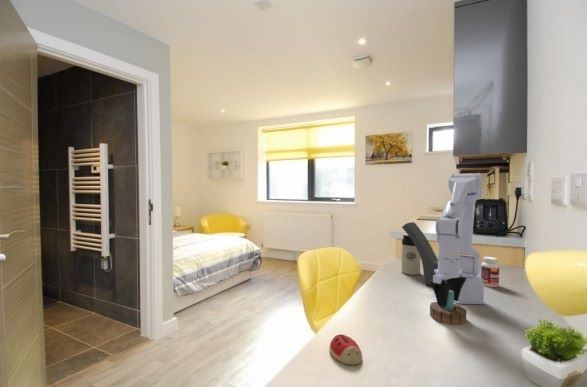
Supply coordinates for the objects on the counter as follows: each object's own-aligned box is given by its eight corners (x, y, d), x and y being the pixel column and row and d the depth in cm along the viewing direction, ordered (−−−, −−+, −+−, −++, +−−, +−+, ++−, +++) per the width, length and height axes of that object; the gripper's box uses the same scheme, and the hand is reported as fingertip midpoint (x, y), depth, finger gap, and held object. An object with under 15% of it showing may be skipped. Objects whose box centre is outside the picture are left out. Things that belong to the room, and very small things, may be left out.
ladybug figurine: (342, 370, 65) (342, 353, 65) (322, 347, 74) (322, 332, 74) (369, 364, 67) (369, 348, 67) (347, 342, 76) (347, 328, 76)
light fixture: (410, 275, 136) (410, 221, 135) (451, 284, 124) (452, 224, 123) (399, 280, 128) (399, 223, 128) (442, 290, 116) (443, 226, 116)
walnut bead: (456, 311, 96) (456, 302, 96) (473, 325, 86) (473, 314, 86) (425, 310, 96) (425, 301, 96) (438, 324, 86) (438, 313, 86)
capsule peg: (450, 315, 93) (450, 289, 92) (455, 319, 90) (455, 292, 89) (440, 315, 93) (440, 289, 92) (445, 319, 90) (445, 292, 90)
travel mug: (404, 269, 145) (404, 232, 145) (421, 272, 141) (422, 233, 141) (399, 273, 139) (399, 234, 139) (417, 276, 134) (418, 235, 134)
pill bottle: (492, 288, 119) (492, 260, 119) (477, 283, 125) (477, 256, 124) (502, 286, 121) (503, 258, 121) (487, 282, 127) (487, 255, 127)
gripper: (446, 252, 98) (446, 294, 99) (423, 258, 90) (422, 304, 90) (470, 256, 93) (469, 300, 93) (447, 263, 84) (446, 312, 84)
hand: (448, 302), depth 91 cm, fingers open, 7 cm apart
